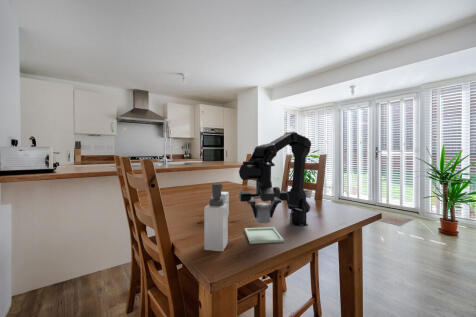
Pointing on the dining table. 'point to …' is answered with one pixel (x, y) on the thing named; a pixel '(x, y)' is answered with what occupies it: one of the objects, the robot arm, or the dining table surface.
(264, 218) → the pot
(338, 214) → the dining table surface
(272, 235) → the tray
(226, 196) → the supplement box
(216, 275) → the dining table surface
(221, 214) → the soap dispenser
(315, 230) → the dining table surface
